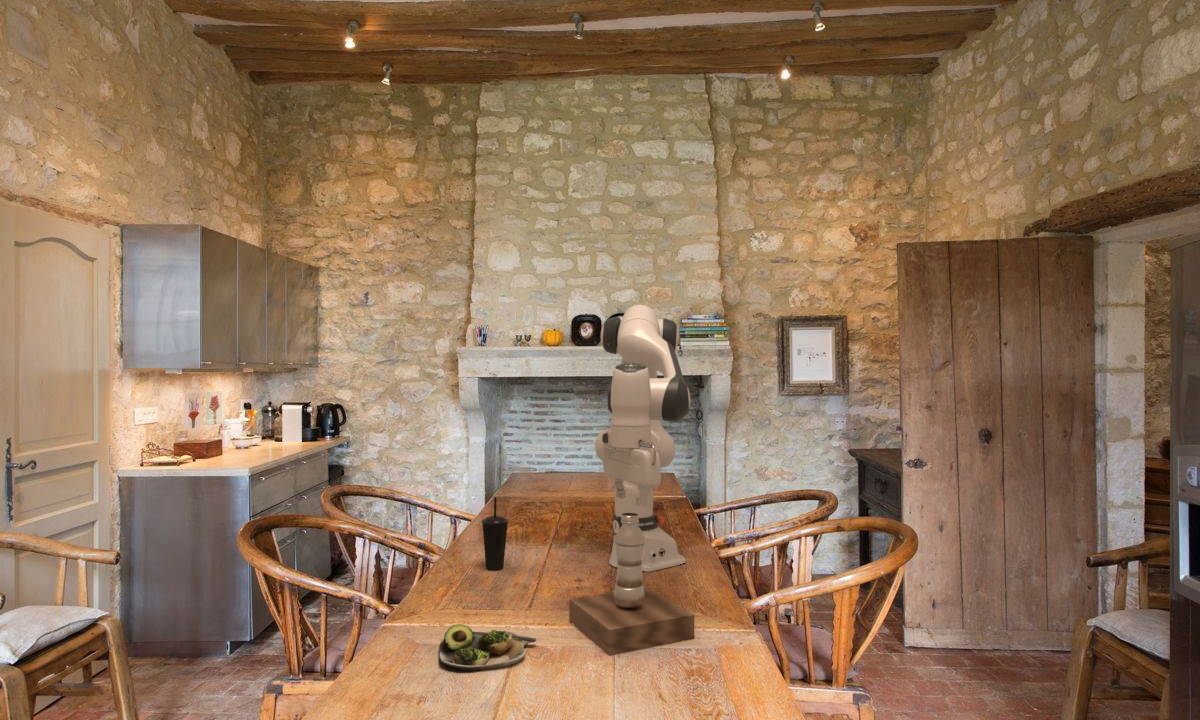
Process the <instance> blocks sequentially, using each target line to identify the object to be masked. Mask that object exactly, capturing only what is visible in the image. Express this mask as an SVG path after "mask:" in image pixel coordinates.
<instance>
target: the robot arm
mask: <svg viewBox="0 0 1200 720" xmlns="http://www.w3.org/2000/svg"><path fill="white" fill-rule="evenodd" d="M677 326H678V325H677V323H676V322H675V321H674V320H673V319H672V320H671V319H668V318H663V319H661V318H658V316H657V314H656V312H655V311H654V310H653V308H651V307H650V306H648V305H645V304H634V305H632V306H630V307H629V308H628V309H626V311H625V312H624V314H623V315H622V317H619V316H614V317H609V318H607V319H606V320H605V321H604V323H603V326H602V327H601V331H600V341H601V345H602V347H603V349H604V350H605V352H606V353H609V354H612V355H617V354H619V355H620V357H621V363H620V364H618V365H616V366H615V367H614V368H613V372H612V379H611V384H610V385H609V387H608V388H607V410H608V411H609V412H610V413H611V414H612V416H611V420H610V428H606V429H603V430H601V431H600V432H599V433H598V435H597V436H596V439H595V443H594V449H595V453H596V454H595V455H596V456H597V457H598V459H599V460H600V461H602V468H603V471H604V474H605V475H606V476H609V477H611V480H612V484H613V491H614V513H613V519H612V522H613V525H612V528H613V529H612V530H613V542H612V549H611V554H610V556H609V560H608V563H609V565H611V566H612V567H614V568H617V553H616V545H615V544H616V543H615V537H616V534H617V532H618V530H619V529H620V528H621V526H622V523H621V515H622V513H637V514H638V520H639V523H638V526H639V528H640V529H641V531H642V532H643V534H644V536H645V545H644V551H643V560H642V572H647V573H649V572H655V571H657V570H662V569H666V568H668V569H669V568H673V567H675V566H680V564H681V565H684V564H683V563H685V564H686V563H687V562H686V561H687V560H686V558H685V556H683V555H681V554H680V553H679V552H678V545H677V542H676V540H675V538H673V537H672V536H671V535H670V534H668V533H667V532H665V530H663V529H662V528H661V527H660V526H659V524H661V525H664V524H665V522H666V518H665V517H664V516H661V515H656V514H654V491H653V490H654V488H658V487H659V486H660V484H661V482H662V472H661V468H662V469H663V468H666V467H669V466H670V464H671V463H672V462H673V460H674V459H675V455H676V444H675V441H674V439H673V437H672V436H671V435H670V434H669V433H668V432H667V431H666V430H665V429H664V427H663V425H662V423H661V421H664V422H671V423H678V422H679V421H681V420H682V419H684V417H686V416H687V415H688V414H689V411H690V408H691V393H690V390H689V387H688V385H687V382H686V380H685V379H684V376H683V373H682V370H681V366H680V363H679V360H678V357H677V354H676V350H677V347H678V345H679V342H680V331H679V328H678V327H677ZM658 372H660V373H662V375H663V378H662V377H661V378H659V377H658Z"/></svg>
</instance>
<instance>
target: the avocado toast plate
mask: <svg viewBox="0 0 1200 720" xmlns="http://www.w3.org/2000/svg"><path fill="white" fill-rule="evenodd" d="M536 641H537V638H536V637H529V636H521V635H518V634H517V633H514V632H510V631H507V630H497V629H492V630H491V631H482V632H481V631H474V630H472V628H470V627H469V626H467V625H465V624H460V623H459V624H458V623H457V624H453V625H452V626H450V627H448V629H447V630H446V631H445V633H444V636H443V639H442V640H441V641H440V643H439V646H438V654H439V656H438V661H439V664H440V665H441V666H442V667H443V668H444V669H447V670H449V671H453V672H458V673H462V672H463V673H467V672H469V673H471V672H477V671H478V672H479V671H485V670H493V669H499V668H505V667H509V666H513V665H515V664H516V663H518V662H519V661H521V660H523V659H524V658H525V656H526V651H525V650H526V649H525V648H524V647H525V646H526V645H528V644H533V643H535V642H536ZM502 656H507V657H508V658H509V659H507V660H504V661H502V662H497V663H493V664H487V662H488V661H489V660H490V659H493V658H495V657H502Z"/></svg>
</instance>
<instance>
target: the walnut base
mask: <svg viewBox="0 0 1200 720" xmlns="http://www.w3.org/2000/svg"><path fill="white" fill-rule="evenodd" d="M644 594H645V595H644V601H643V603H642V605H641V606H639V607H636V608H624V607H620V606H618V605H617V604H616V602H615V600H614V591H613V592H605V593H600V594H594V595H588V596H581V597H574V598H569V601H568V602H569V611H568V612H569V614H568V615H569V618H568V622H569V621H570V622H569V623H571V624H572V623H573V624H574V625H575V626H576V627H577V628H576V629H577V630H579V631H580V632H581V633H582V634H584V635H585V636H586V637H587V638H588V639H589V640H591V641H592V642H593V643H594V644H596V645H597V646H598V648H600V649H601V650H602V651H603V652H605V653H606V654H607V655H608V656H613V655H617V654H619V655H620V654H622V653H627V652H634V651H639V650H643V649H649V648H652V647H653V648H654V647H658V646H663V645H668V644H669V645H670V644H674V643H679V642H683V641H689V640H694V639H695V613H693V612H691V611H689V610H687V609H685V608H683V606H680V605H678V604H676V603H675V602H674V601H672V600H670V599H669V598H667V597H665V596H663V595H661V594H660V593H658V592H656V591H655V590H653V589H651V588H649V587H648V586H644ZM573 624H572V625H573ZM574 625H573V626H574ZM575 626H574V627H575Z"/></svg>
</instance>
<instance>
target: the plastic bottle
mask: <svg viewBox="0 0 1200 720" xmlns="http://www.w3.org/2000/svg"><path fill="white" fill-rule="evenodd" d="M621 523H622V526H621V528H620V529H619V530H618V532H617V534H616V537H615V543H616V544H615V545H616V553H617V567H616V568H617V569H616V576H615V577H616V578H615V584H614V590H613V592H614V600H615V602H616V604H617V605H618V606H620V607H624V608H636V607H639V606H641V605H642V603H643V601H644V595H645V594H644V588H645V586H644V584H643V582H644V581H643V571H642V560H643V551H644V545H645V536H644V534H643V532H642V531H641V529H640V528H639V526H638V523H639V520H638V514H637V513H622V515H621Z"/></svg>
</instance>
